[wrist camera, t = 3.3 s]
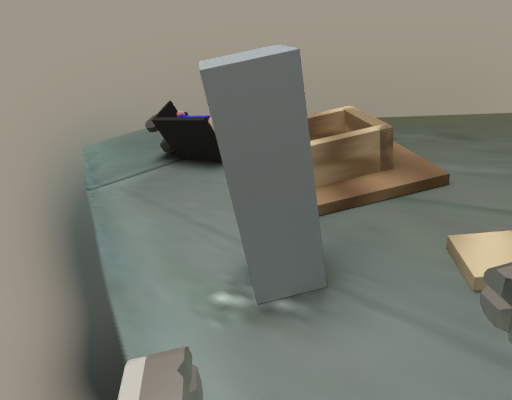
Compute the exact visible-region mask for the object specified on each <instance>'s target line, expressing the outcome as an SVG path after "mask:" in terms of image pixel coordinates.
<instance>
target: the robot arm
mask: <svg viewBox="0 0 512 400" xmlns="http://www.w3.org/2000/svg"><path fill="white" fill-rule="evenodd" d="M483 281H484V282H485V283H486V284H487V286H486V287H485V288H484V289H483V291H482V292H481V296H480V304H481V307H482V310H483V312H484V314H485V316H486V317H487V319H488V320H489V321H490V322H491V323H492V324H493V325H494V326H495V327H496V328H499V329H501V330H503V331H506V332H508V337H509V341H510V342H511V343H512V262H511V263H507V264H503V265H499V266H496V267H492V268H488V269H487V270H486V271H485V272H484V276H483ZM118 400H203V391H202V383H201V379H200V375H199V372H198V369H197V367H196V366H194V365H192V354H191V352H190V350H189V348H188V347H182V348H178V349H173V350H169V351H165V352H160V353H156V354H152V355H148V356H144V357H140V358H136V359H131V360H128V362H127V364H126V366H125V368H124V374H123V378H122V382H121V387H120V392H119V396H118Z"/></svg>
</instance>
